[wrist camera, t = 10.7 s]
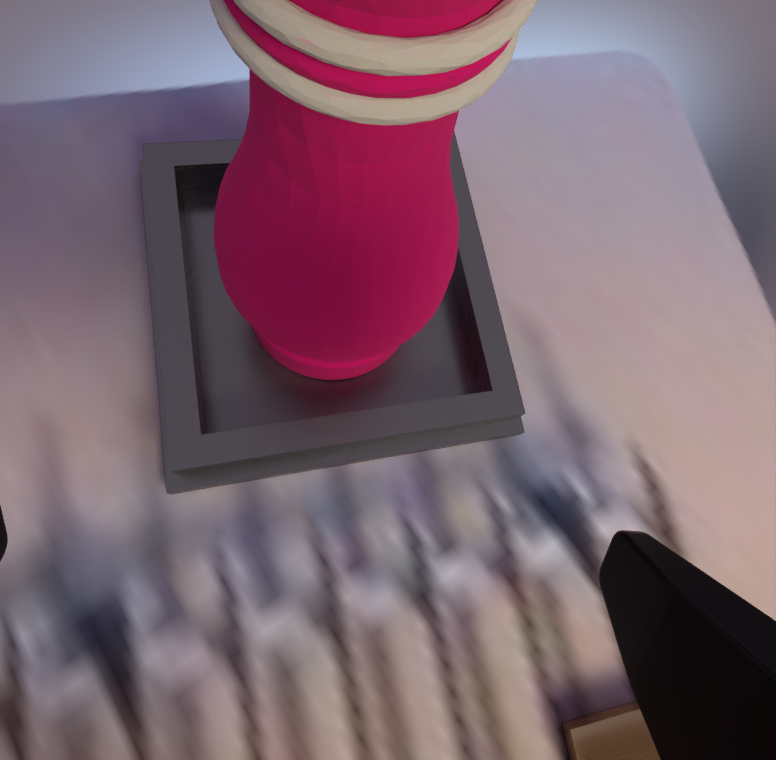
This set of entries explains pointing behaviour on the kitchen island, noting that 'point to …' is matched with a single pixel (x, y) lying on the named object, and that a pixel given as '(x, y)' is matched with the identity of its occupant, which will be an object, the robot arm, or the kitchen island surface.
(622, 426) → the kitchen island surface
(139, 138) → the kitchen island surface
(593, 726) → the brass square tray
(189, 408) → the graphite square tray
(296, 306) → the pepper mill
